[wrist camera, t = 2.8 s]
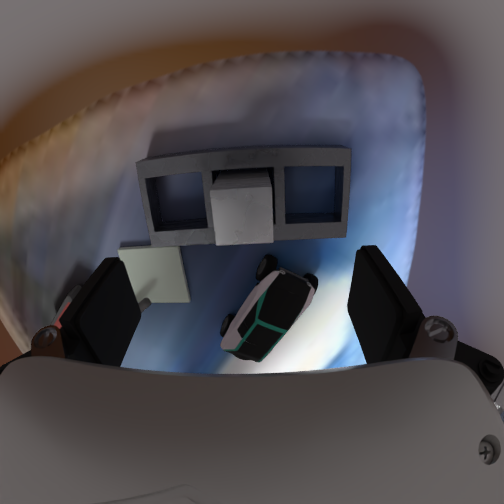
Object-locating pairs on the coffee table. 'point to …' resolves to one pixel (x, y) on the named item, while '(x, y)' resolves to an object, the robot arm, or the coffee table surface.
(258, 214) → the steel block
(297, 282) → the toy car
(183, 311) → the coffee table surface
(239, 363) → the coffee table surface
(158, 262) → the sage mat
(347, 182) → the grey flat frame
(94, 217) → the coffee table surface
